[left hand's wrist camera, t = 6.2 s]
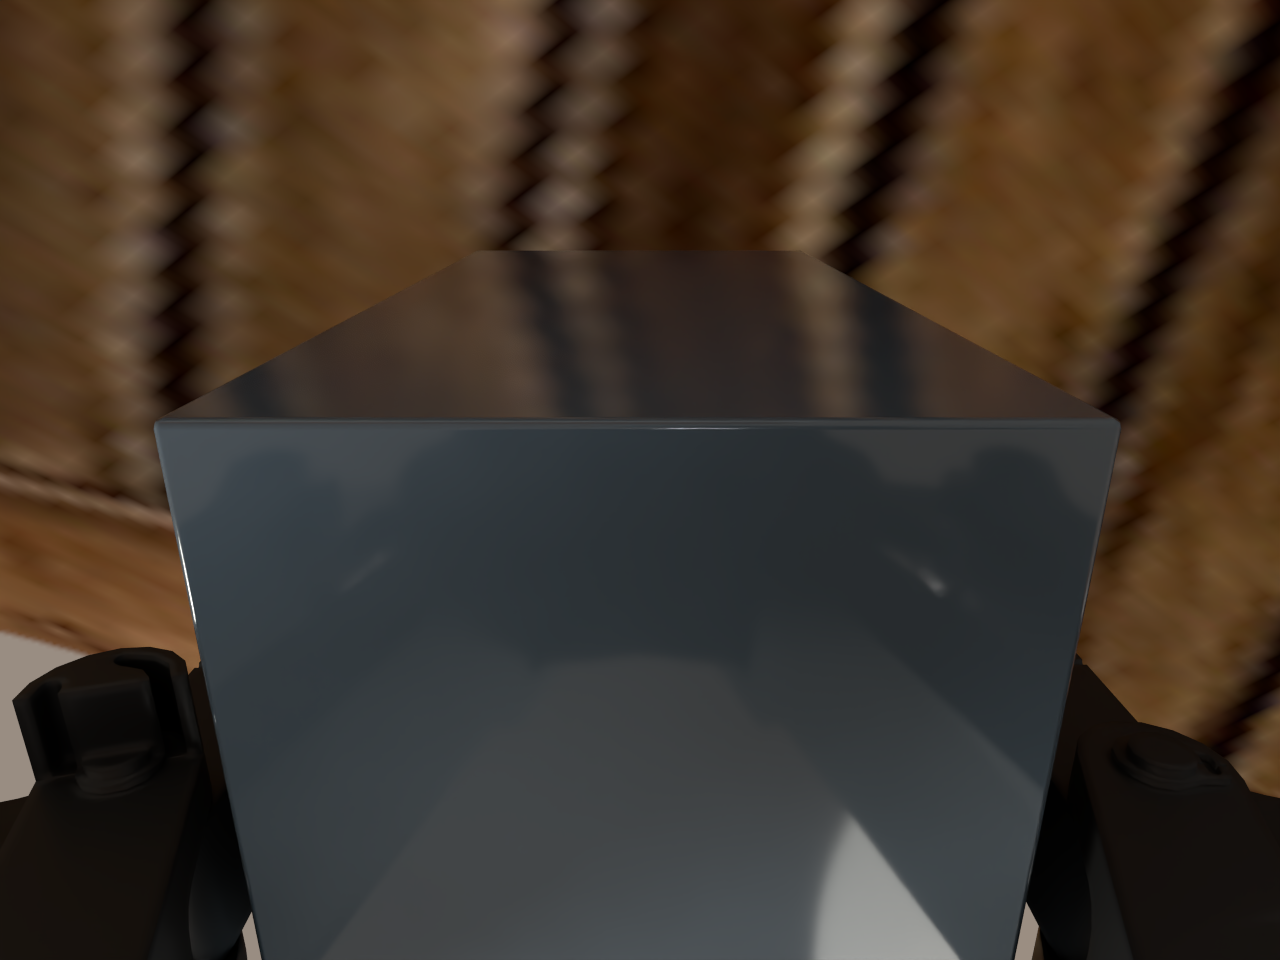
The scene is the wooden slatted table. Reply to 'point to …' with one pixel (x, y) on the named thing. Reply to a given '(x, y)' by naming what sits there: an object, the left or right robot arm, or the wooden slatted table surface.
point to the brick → (637, 616)
